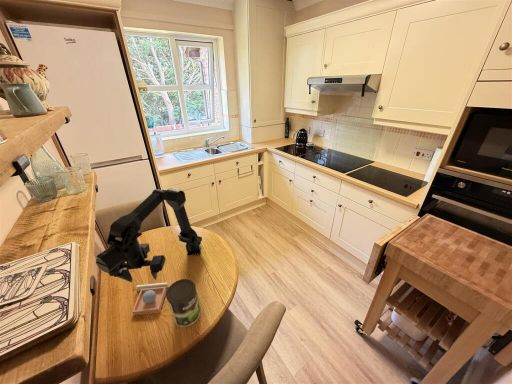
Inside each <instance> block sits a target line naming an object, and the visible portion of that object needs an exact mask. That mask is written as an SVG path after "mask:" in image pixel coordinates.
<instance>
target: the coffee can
mask: <svg viewBox="0 0 512 384" xmlns="http://www.w3.org/2000/svg"><path fill="white" fill-rule="evenodd" d="M198 297H199V296H198V293H197V289H196V283H195V282H194V281H193V280H192V279H189V278H183V279H182V278H181V279H179V280H176V281H174V282H173V283H172V284H170V285H169V286H168V288H167V290H166V294H165V298H166V300H167V302H168V306H169V308H170V312H171V314H172V318H173V321H174V323H175V325H176V326H177V327H181V328H187V327H190V326H192V325H193V324H195V323H196V322H197V321H198V320H199V318H200V315H201V306H200V303H199V299H198Z"/></svg>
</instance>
